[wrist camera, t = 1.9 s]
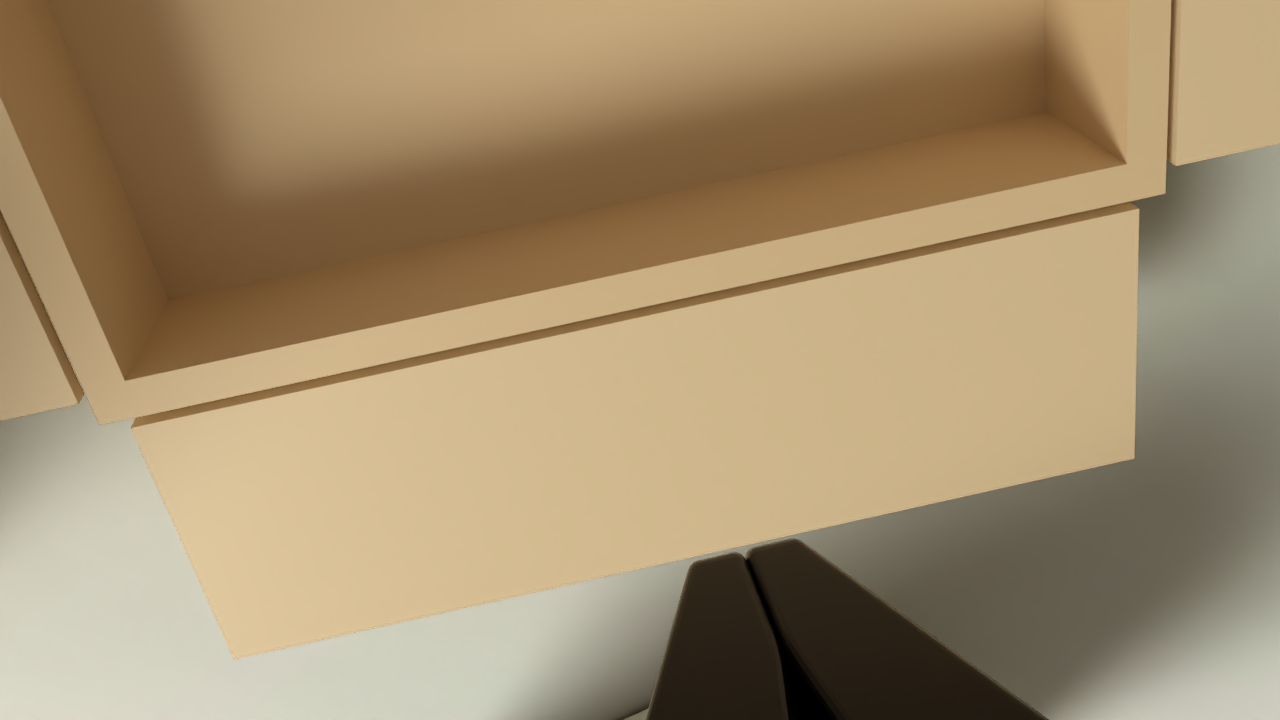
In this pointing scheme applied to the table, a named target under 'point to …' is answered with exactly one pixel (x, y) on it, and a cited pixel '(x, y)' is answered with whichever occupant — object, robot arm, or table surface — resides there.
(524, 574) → the carton
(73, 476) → the table surface
